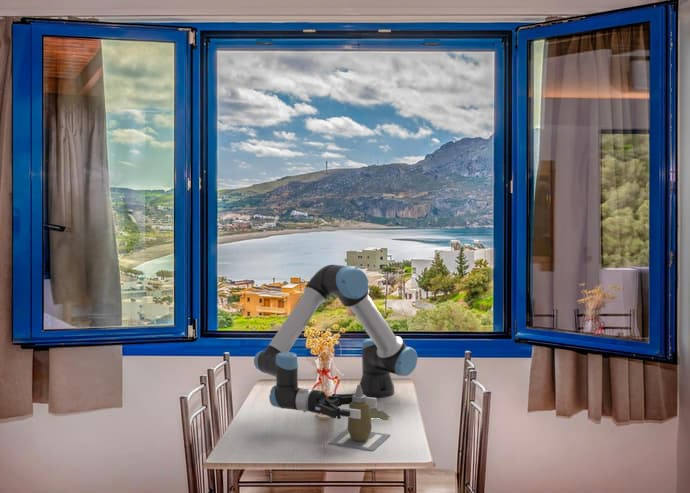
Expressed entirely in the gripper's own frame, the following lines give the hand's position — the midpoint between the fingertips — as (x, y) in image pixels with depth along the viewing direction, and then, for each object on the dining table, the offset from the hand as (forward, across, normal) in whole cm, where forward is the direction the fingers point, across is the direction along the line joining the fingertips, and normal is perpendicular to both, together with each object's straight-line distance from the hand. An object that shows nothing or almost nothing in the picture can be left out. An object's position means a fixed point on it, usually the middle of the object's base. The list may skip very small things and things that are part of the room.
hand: (368, 408), depth 198 cm
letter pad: (-3, 0, -11) cm, 11 cm away
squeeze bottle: (-3, 0, -11) cm, 11 cm away
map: (-7, -22, -12) cm, 26 cm away
